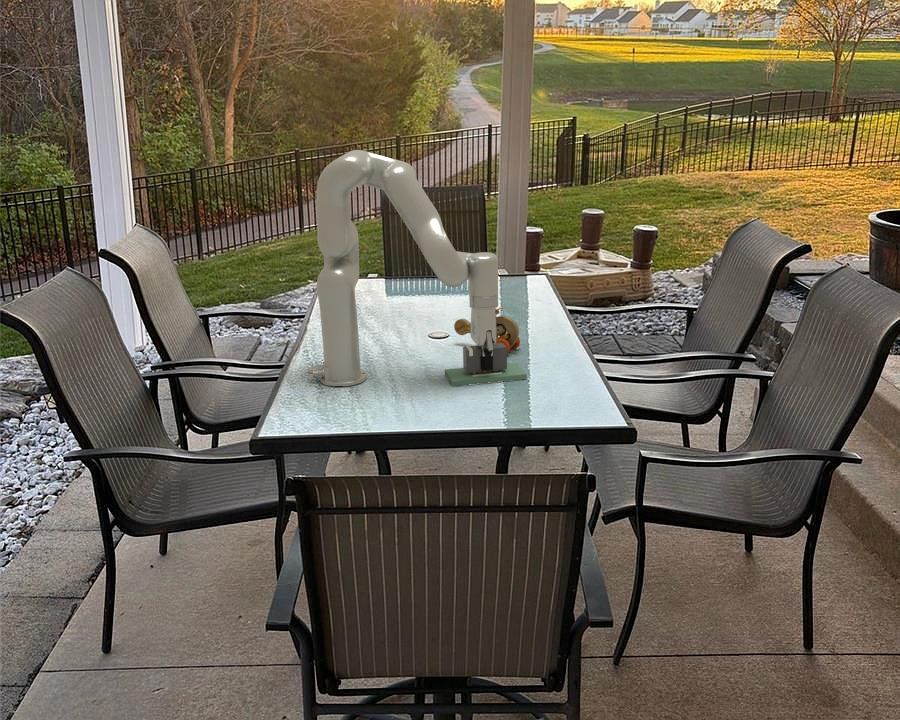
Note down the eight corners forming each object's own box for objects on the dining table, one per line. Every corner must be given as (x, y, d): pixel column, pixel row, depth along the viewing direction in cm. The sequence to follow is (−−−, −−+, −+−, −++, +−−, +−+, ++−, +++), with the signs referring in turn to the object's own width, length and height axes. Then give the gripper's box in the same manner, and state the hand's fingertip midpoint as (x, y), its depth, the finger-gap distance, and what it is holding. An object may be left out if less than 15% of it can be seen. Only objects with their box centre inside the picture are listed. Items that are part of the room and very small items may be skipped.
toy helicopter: (511, 358, 249) (510, 311, 244) (448, 348, 259) (447, 303, 255) (524, 350, 255) (524, 304, 251) (462, 341, 266) (461, 297, 261)
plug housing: (466, 372, 230) (466, 350, 228) (463, 368, 234) (462, 346, 232) (506, 368, 232) (506, 347, 230) (503, 364, 236) (502, 342, 234)
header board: (452, 386, 227) (452, 366, 225) (444, 374, 236) (444, 355, 235) (526, 379, 231) (526, 359, 229) (516, 367, 240) (516, 348, 238)
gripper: (462, 294, 234) (464, 359, 240) (477, 309, 219) (478, 378, 224) (489, 292, 235) (490, 356, 241) (506, 307, 220) (506, 376, 226)
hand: (484, 366), depth 233 cm, fingers closed on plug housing, 3 cm apart
